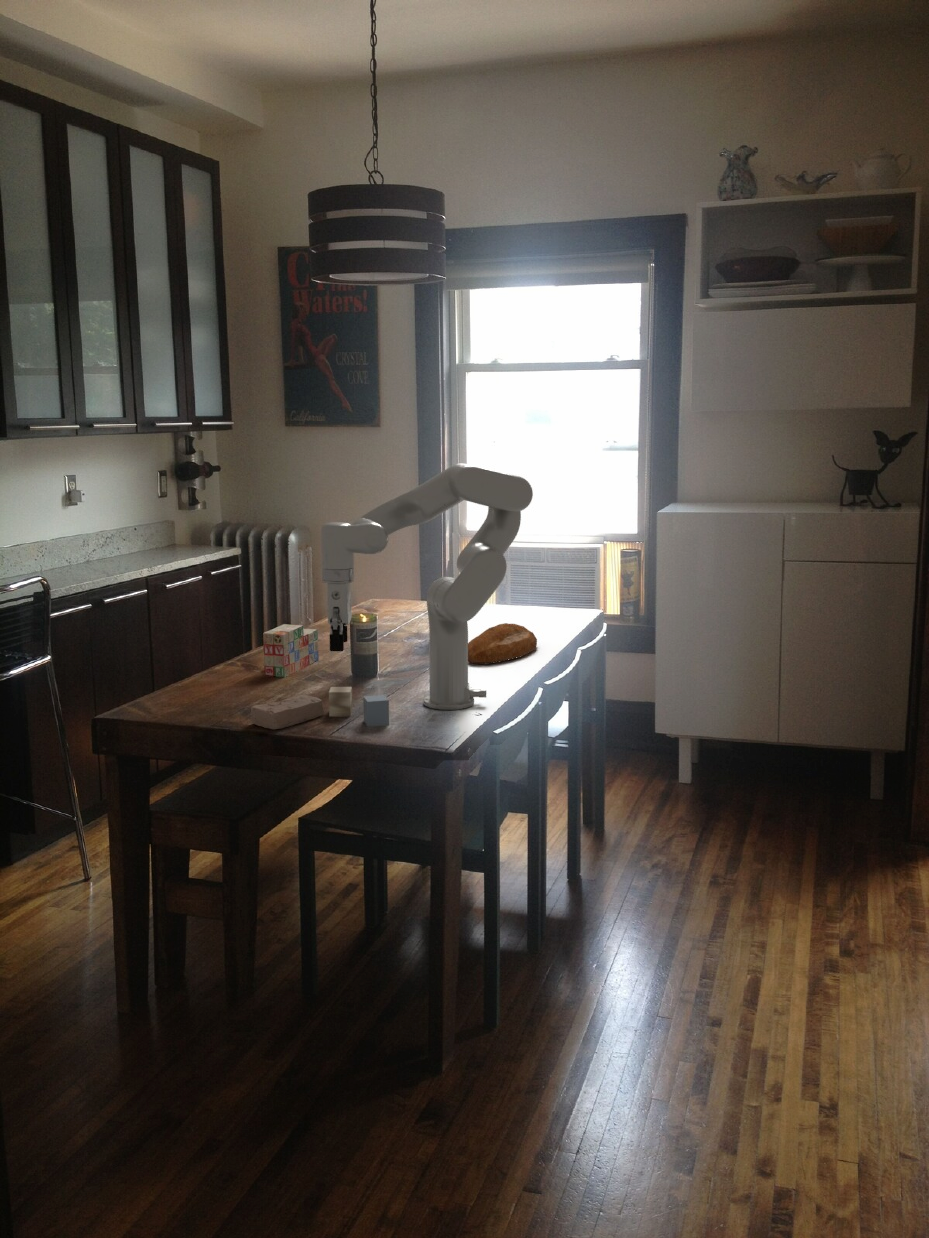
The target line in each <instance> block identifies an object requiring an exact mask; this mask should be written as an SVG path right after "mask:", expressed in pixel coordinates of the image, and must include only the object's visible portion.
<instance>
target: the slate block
mask: <svg viewBox="0 0 929 1238" xmlns="http://www.w3.org/2000/svg"><path fill="white" fill-rule="evenodd" d="M362 700H363V704H362V705H363V722H364V723H365V725H366V726H367V728H370V727H381V726H390V701H389V698H387V696H386V695H385V694H377V695H363V698H362Z"/></svg>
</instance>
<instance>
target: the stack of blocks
mask: <svg viewBox="0 0 929 1238" xmlns="http://www.w3.org/2000/svg"><path fill="white" fill-rule="evenodd" d="M262 635H263V636H262V639H263V659H264V660H263V661H264V662H263V665H264V666H263V667H264V676H265V675H269V676H268V677H273V676H276V677H275V678H286V676H287V677H288V675H289V674H291V675H293V674H294V672H295V673H297V672H300V671H301V670H302V669H304V668H306V667H308V666H310V665H312V664H314V663H316V662H317V661H319V659H320V658H319V638H318V637H319V636H318V635H319V633H318V629H314V628H304V625H303V624H286V623H283V624H281V625H279V626H277V627H275V628H273V629H270V630H267V631H265V632H263V634H262ZM315 661H316V662H315ZM303 667H304V668H303ZM300 669H301V670H300ZM296 671H297V672H296ZM289 676H290V675H289Z"/></svg>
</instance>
